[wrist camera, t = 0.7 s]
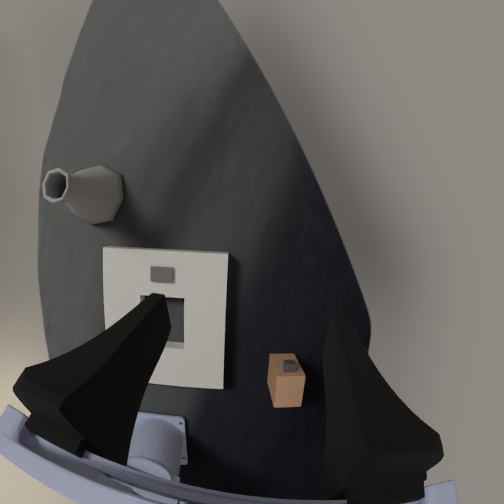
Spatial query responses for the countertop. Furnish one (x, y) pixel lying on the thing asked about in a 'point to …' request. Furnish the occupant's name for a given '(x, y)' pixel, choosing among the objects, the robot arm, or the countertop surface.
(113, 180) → the flask
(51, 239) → the countertop surface
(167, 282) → the socket
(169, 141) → the countertop surface
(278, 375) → the plug
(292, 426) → the countertop surface
